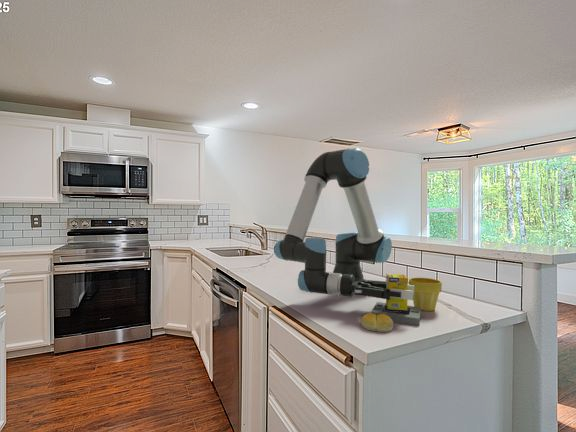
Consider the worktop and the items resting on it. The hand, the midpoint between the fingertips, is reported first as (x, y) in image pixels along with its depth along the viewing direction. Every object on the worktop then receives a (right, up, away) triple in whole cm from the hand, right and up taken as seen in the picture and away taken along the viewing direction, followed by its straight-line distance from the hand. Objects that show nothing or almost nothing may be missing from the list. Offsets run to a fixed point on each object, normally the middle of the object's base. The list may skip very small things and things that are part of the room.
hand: (413, 292), depth 99 cm
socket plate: (-5, -8, +2) cm, 10 cm away
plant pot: (+8, -8, +11) cm, 16 cm away
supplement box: (-5, -6, +2) cm, 8 cm away
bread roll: (-13, -9, -8) cm, 18 cm away
